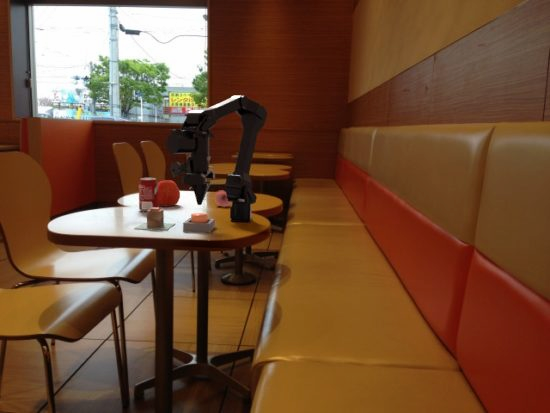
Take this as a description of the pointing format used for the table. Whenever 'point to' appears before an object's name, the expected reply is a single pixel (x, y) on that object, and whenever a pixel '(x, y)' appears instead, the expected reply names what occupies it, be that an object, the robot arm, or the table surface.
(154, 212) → the block
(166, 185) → the apple
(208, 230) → the button box
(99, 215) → the table surface
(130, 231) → the table surface
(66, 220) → the table surface
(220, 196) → the flower
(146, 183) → the soda can
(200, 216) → the button
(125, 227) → the table surface
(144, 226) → the board
